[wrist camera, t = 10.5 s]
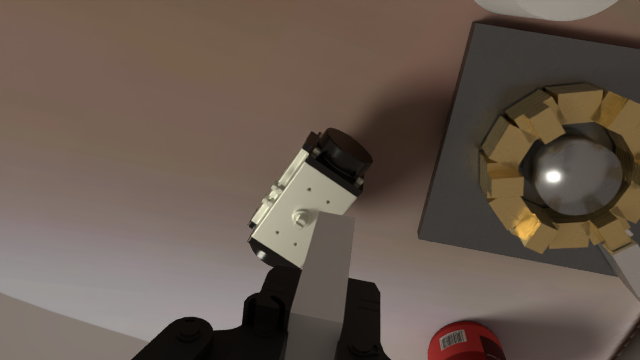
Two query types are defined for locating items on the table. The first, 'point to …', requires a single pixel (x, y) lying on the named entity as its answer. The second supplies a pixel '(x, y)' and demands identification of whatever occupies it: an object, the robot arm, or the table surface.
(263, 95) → the table surface
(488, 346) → the canned food
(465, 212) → the base plate
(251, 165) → the table surface
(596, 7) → the white cylinder
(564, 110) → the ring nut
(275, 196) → the pneumatic valve
